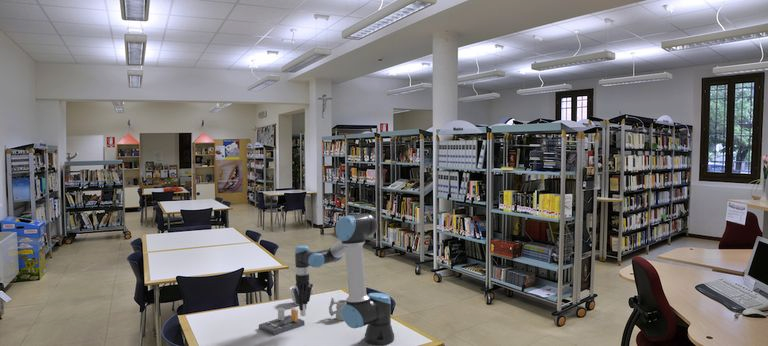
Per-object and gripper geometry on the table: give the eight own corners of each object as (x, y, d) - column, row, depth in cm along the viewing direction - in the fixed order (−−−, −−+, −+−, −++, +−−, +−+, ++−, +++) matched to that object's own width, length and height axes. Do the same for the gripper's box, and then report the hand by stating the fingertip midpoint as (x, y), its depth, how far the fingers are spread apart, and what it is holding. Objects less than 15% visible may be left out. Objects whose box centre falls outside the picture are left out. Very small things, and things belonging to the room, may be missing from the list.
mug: (347, 321, 265) (347, 300, 265) (327, 320, 267) (327, 299, 266) (350, 316, 273) (350, 296, 272) (330, 315, 274) (330, 295, 274)
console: (304, 325, 259) (304, 320, 259) (273, 335, 245) (273, 330, 245) (289, 319, 269) (289, 314, 269) (258, 329, 254) (258, 324, 254)
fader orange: (297, 320, 258) (297, 309, 258) (295, 321, 257) (295, 310, 257) (294, 319, 261) (293, 308, 260) (291, 320, 259) (291, 309, 259)
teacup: (313, 305, 292) (313, 289, 292) (289, 307, 290) (288, 291, 290) (313, 299, 304) (313, 284, 304) (290, 300, 302) (290, 285, 302)
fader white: (284, 319, 260) (284, 308, 260) (281, 320, 259) (281, 309, 258) (280, 318, 263) (280, 307, 262) (277, 319, 261) (277, 308, 261)
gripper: (307, 270, 269) (308, 311, 270) (288, 274, 260) (289, 316, 261) (315, 272, 264) (316, 314, 265) (296, 277, 255) (297, 320, 256)
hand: (303, 315), depth 263 cm, fingers closed
